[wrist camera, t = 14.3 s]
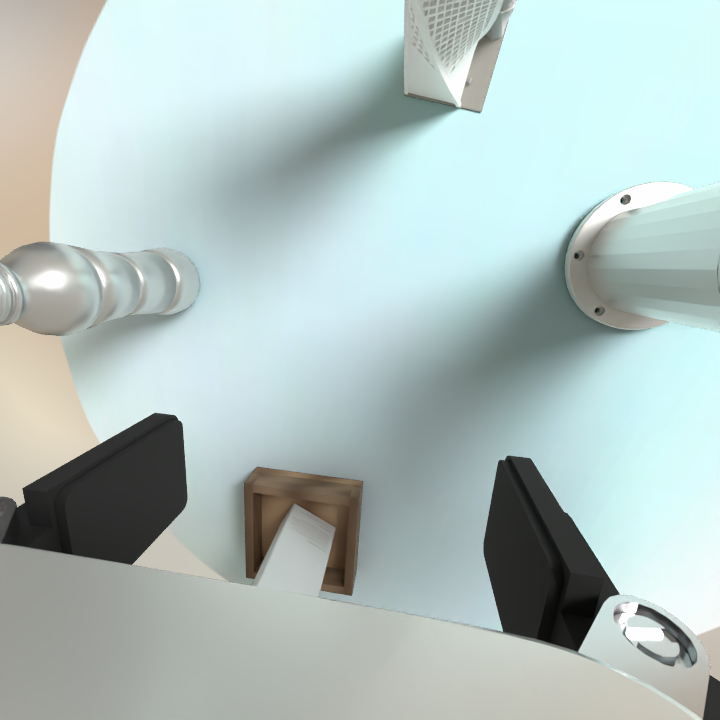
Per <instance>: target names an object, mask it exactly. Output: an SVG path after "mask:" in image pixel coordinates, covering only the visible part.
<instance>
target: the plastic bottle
mask: <svg viewBox="0 0 720 720" xmlns="http://www.w3.org/2000/svg"><path fill="white" fill-rule="evenodd" d="M199 289H200V279H199V274H198V271H197V269H196V267H195V265H194V264H193V262H192V261H191V260H190V259H189V258H188V257H187V256H185V255H184V254H182V253H180V252H177V251H174V250H171V249H167V248H155V249H149V250H144V251H141V252H130V253H111V252H102V251H94V250H89V249H84V248H79V247H75V246H70V245H64V244H60V243H52V242H36V243H32V244H28V245H24V246H21V247H19V248H17V249H15V250H13V251H12V252H10V254H8V255H6V256H5V257H4V258H2V259H1V260H0V326H2V325H9V324H12V323H15V324H17V325H19V326H21V327H23V328H26V329H29V330H31V331H33V332H36V333H39V334H44V335H56V336H65V335H70V334H74V333H77V332H80V331H83V330H85V329H88V328H91V327H93V326H96V325H99V324H101V323H104V322H107V321H110V320H114V319H118V318H122V317H126V316H130V315H138V314H160V315H165V314H175V313H178V312H180V311H182V310H184V309H186V308H188V307H189V306H191V305H192V304H193V303H194V301H195V300H196V298H197V296H198V293H199Z"/></svg>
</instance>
